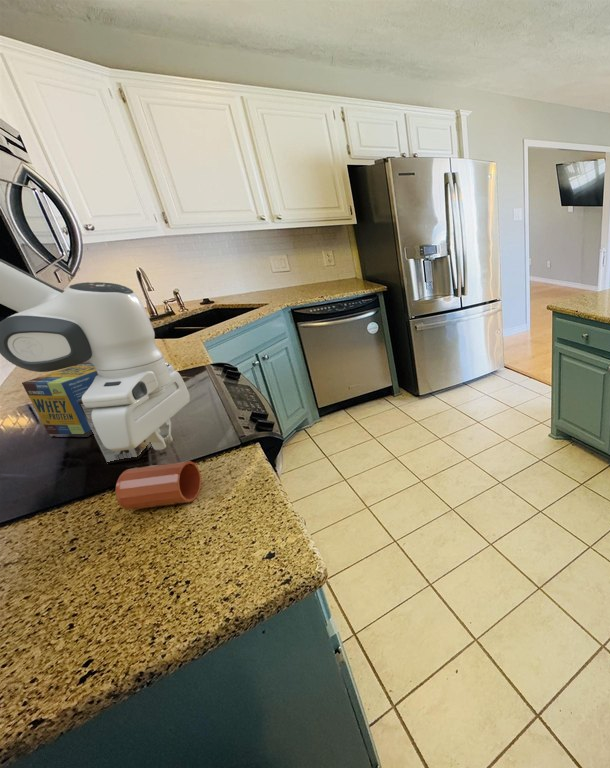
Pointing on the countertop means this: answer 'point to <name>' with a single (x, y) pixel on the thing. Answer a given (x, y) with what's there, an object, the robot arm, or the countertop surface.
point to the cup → (158, 485)
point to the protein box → (62, 398)
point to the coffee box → (106, 452)
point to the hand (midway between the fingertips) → (164, 445)
